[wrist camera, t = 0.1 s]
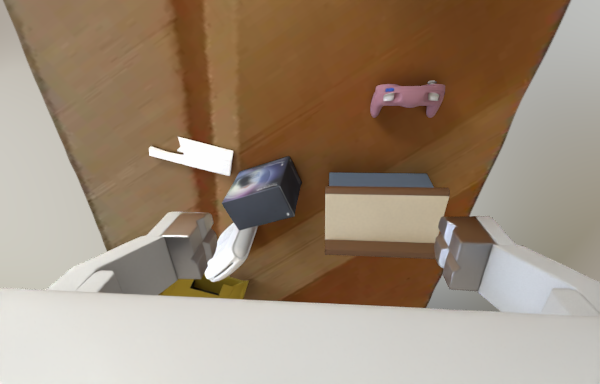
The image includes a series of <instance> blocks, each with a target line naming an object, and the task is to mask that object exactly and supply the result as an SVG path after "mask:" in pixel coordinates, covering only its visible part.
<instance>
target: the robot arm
mask: <svg viewBox="0 0 600 384" xmlns="http://www.w3.org/2000/svg"><path fill="white" fill-rule="evenodd" d="M212 225H213V219H212V215H211V214H210V213H197V212H168V213H167V214H166V215H165V216H164V217H163V219H162V220H161V221H160V222H159V223H158V224H157V225H156V226H155V227H154V228H153V229H152V230H151V231H150V232H149V233H148V234H147V235H146V236H141V237H138V238H136V239H134V240H132V241H130V242H127V243H125V244H123V245H121V246H118V247H116V248H114V249H112V250H110V251H107V252H105V253H103V254H101V255H99V256H96V257H94V258H92V259H90V260H87V261H85V262H83V263H81V264H78V265H76V266H75V267H72V268H70V269H69V270H68V271H67V272H66V273H64V274H63V275H62V276H61V277H60V278H59V279H58V280H56V282H54V283H53V284H52V285H51V286H50V287H48V289H46V290H36V289H14V288H0V384H600V282H598V281H596V280H594V279H592V278H590V277H588V276H586V275H584V274H582V273H580V272H577V271H575V270H573V269H571V268H569V267H567V266H565V265H563V264H560V263H558V262H556V261H554V260H552V259H550V258H548V257H546V256H544V255H541V254H539V253H537V252H535V251H533V250H531V249H529V248H527V247H525V246H522V245H516V244H515V243H514V242H513V240H512V239H511V238H510V237H509V236H508V235H507V234H506V232H505V231H504V230H503V229H502V228H501V227H500V226H499V224H498V223H497V222H496V221H495V220H494V219H493V218H492V217H490V216H473V217H441V219H440V221H439V225H438V228H439V230H440V232H441V234H440V235H438V236H437V237H436V239H435V245H434V249H435V257H436V261H437V263H438V265H439V266H441V267H442V268H443V269H444V271H443V276H444V278H445V280H446V283H447V285H448V287H449V289H452V290H468V291H478V293H479V294H480V295H482V296H483V297H484V298H485V299H486V300H488V301H489V302H490V303H491V304H492V305H494V306H495V307H496V308H497V309H498V310H500V311H501V312H493V311H473V310H451V309H431V308H410V307H389V306H368V305H348V304H327V303H306V302H285V301H265V300H244V299H223V298H203V297H182V296H161V295H159V294H160V293H161V292H163V291H164V290H165V289H167V288H168V287H169V286H171V285H172V284H173V283H175V282H176V281H177V280H178V279H201V278H202V276H203V274H204V273H205V271H206V269H207V267H208V263H207V261H208V260H210V259H211V258H213V256H214V254H215V252H216V247H217V237H216V233H215V232H214V231H213V230H212V229H211V227H212Z"/></svg>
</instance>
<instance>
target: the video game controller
mask: <svg viewBox="0 0 600 384" xmlns="http://www.w3.org/2000/svg"><path fill="white" fill-rule="evenodd" d="M427 83H428V85H423V86H400V85H396V84H384V85H379V86H377V87H376V91H375V93H374V95H373V98H372V101H371V109H370V110H371V115H372V117H374V118H375V117H377V116H378V115H379V113H380V110H381V108H382V107H383V106H384V105H386V106H402V107H407V108H412V107H417V106H427V109H426V114H427V117H429V118H431V117H433V116H434V115H435V114H436V112H437V110H438V109H439V107H440V105H441V103H442V101H443V97H444V94H445V85H442V84H435V83H437V82H436V81H434V80H431V81H429V82H427Z"/></svg>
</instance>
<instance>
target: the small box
mask: <svg viewBox="0 0 600 384" xmlns="http://www.w3.org/2000/svg"><path fill="white" fill-rule="evenodd" d="M301 183H302V182H301V180H300V178H299V176H298V174H297V172H296V169H295V167H294V164H293V162H292V160H291V159H290V157H289V156H288V157H284V158H281V159H278V160H275V161H272V162H269V163H266V164H263V165H259V166H256V167H253V168H250V169H247V170H244V171H240V172H239V174H238V176H237V177H236V179H235V181H234V183H233V185H232V186H231V188H230V190H229V192H228V193H227V195H226V197H225V199H224V200H223V202H222V204H223V206H224V208H225V209H226V211H227V213H228V214H229V216H230V217H231V219H232V220H233V222H234V224H235V225H236V227H237V228H238V230H243V229H247V228H251V227H255V226H259V225H263V224H267V223H271V222H275V221H278V220H282V219H286V218H290V217H294V216H295V209H296V205H297V200H298V196H299V191H300V187H301Z"/></svg>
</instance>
